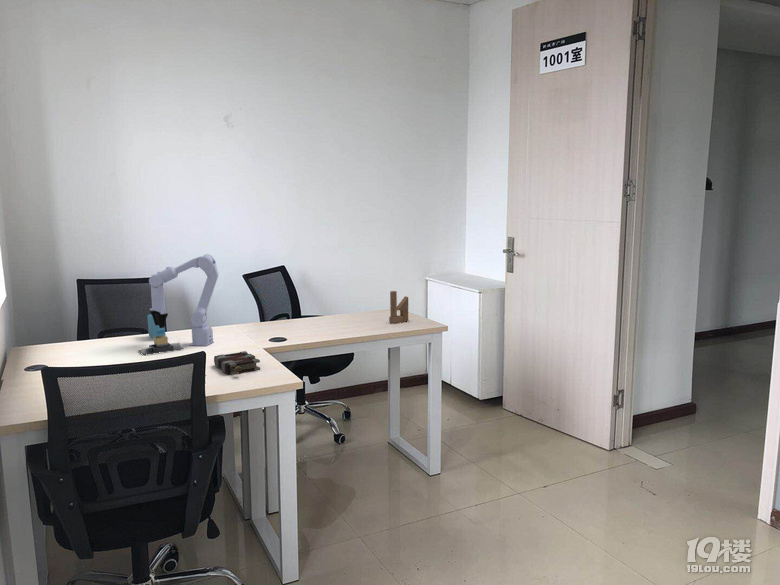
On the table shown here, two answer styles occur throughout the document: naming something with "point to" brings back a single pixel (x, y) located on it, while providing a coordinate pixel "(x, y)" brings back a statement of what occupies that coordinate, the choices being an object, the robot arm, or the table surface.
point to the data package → (154, 328)
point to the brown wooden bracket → (398, 308)
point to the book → (236, 363)
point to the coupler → (160, 341)
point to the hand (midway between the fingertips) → (159, 326)
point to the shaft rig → (152, 349)
